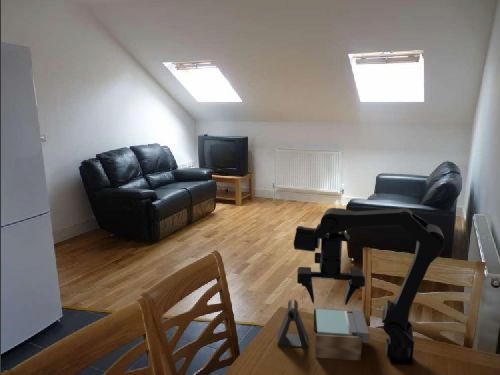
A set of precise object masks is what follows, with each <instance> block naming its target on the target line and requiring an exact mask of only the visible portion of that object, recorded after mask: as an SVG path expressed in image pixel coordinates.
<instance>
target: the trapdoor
mask: <svg viewBox="0 0 500 375" xmlns="http://www.w3.org/2000/svg"><path fill="white" fill-rule="evenodd" d="M315 309H316V320H317V330H316V334H329V335H346V336H352V334H355V335H356V336H362V344H363V343H366V344H368V343H369V339H370V332H369V328H368V324H367V322H366V318H365V315H364V311H363V310H362V309H351V310H352V313H347V311H339V310H340V309H334V310H324V309H325V308H315Z"/></svg>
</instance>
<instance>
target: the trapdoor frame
mask: <svg viewBox="0 0 500 375" xmlns="http://www.w3.org/2000/svg"><path fill="white" fill-rule="evenodd" d="M316 309H317V308H314V309H313V330H314V331H317V320H316ZM323 309H324V310H335V309H332V308H329V309H328V308H323ZM338 310H339V311H347V313H352V310H353V309H351V310H350V309H348V310H347V309H338ZM314 343H315V348H314V352H315V353H314V357H315V358H318V359H319V358H320V359H333V360H334V359H335V360H346V361H347V360H349V361H361V360H362V345H363V342H362V336H356V335H355V334H352V336H346V335H329V334H317V333H315V342H314Z"/></svg>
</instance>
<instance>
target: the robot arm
mask: <svg viewBox="0 0 500 375" xmlns="http://www.w3.org/2000/svg"><path fill="white" fill-rule="evenodd" d="M378 227H380V228H381V227H384V228H385V227H402V228H403V230H405V231H406V232H407V233H408V234H409V235H411V237H412V238H414V239H415V241H416V243H415V244H416V245H415V251H414V256H413V258H412V261H411V263H410V265H409V268H408V270H407V272H406V275H405V276H404V279H403V282H402V284H401V287H400V289H399V291H398V293H397V295H396V298H394V300H393V301H391V300H390V299H387V300H386V304H385V307H384V308H383V309H382V316H381V317H382V318H381V322H382V324H383V326H382V327H383V331H384V332H385V334H386V335H387V336H388V337H387V338H386V339H385V348H384V351H385V355H386V357H387V358H388V361H389V363H390V364H394V365H410V366H414V365H415V361H414V351H415V350H414V349H415V340H414V331H413V330H414V329H413V328H414V327H413V324H412V323H411V321H409V318H410V317H409V316H410V310H411V307H412V305H413V303H414V300H415V298H416V295H417V293H418V292H419V290H420V287H421V284H422V283H423V280H424V278H425V276H426V273H427V271H428V269H429V266H430V265H431V264H432V263H433V262H434V261H435V260H436V259H437V258H438V257H439V255H440V254H441V253H442V252H443V250H444V248H445V246H446V240H445V237H444V234H443V231H442V229H441V228H440V227H439V226H438V225H435V224H430V223H428V222H427V221H426V220H424V218H422V217H420V216H418V215H416V214H415V213H414V212H412V211H411V210H410V209H409V208H407V207H401V208H392V209H378V210H377V209H376V210H374V209H373V210H359V211H357V210H356V211H355V210H350V209H347V208H346V209H345V208H340V207H330V208H328V209H327V210H326V211H325V212H324V213H323V215H322V217H321V219H320V223H319V224H317V226H316V227H315V228H314V227H307V226H306V227H305V226H302V225H297V227H296V228H295V230H296V231H295V235H294V240H293V248H294V250H297V251H305V252H314V259H313V260H314V264H319V271H312V267H311V266H310V267H309V266H299V267H298V268H297V275H296V276H297V282H296V283H297V284H299V285H301V286H302V287H305V288H306V290H307V292H308V294H309V297H310V299H311V303H312V304H315V295H314V294H315V292H314V287H313V280H334V281H335V280H337V281H346V289H345V293H344V294H345V295H344V305H345V306H347V305H348V303H349V300H350V299H351V298H352V296H353V295H354V294H355V292H356V290H360V289H361V288H364V287H365V286H366V276H365V273H364V271H363V270H362V269H360V268H359V269H358V268H349V269H348V272H342V255H343V254H342V252H343V251H342V250H343V249H342V248H343V242H349V240H350V234H349V233H347V232H346V231H349V230H353V229H357V228H378ZM320 244H321V245H320ZM319 248H320V252H316V249H318V250H319Z"/></svg>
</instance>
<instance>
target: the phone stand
mask: <svg viewBox="0 0 500 375" xmlns="http://www.w3.org/2000/svg"><path fill="white" fill-rule="evenodd" d="M293 302H294V303H293ZM293 302H292V299H290V300H289V301H288V302H287V310H286V313H285V315H284V317H283V320H282V322H281V325H280V327H279V330H278V332H277V342H276V345H277V346H278V347H287V348H288V347H289V348H292V347H293V348H306V349H307V348H309V346H308V345H309V344H308V332H307V330H306V327H305V325H304V322H303V320H302V318H301V314H300V312H299V303H298V301H297V300H296V299H294V301H293ZM292 304H293V305H294V307H292V306H293V305H292ZM292 322H294V323H295V327H296V330H297V333H288V331H289V328H290V325H291V323H292Z"/></svg>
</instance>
